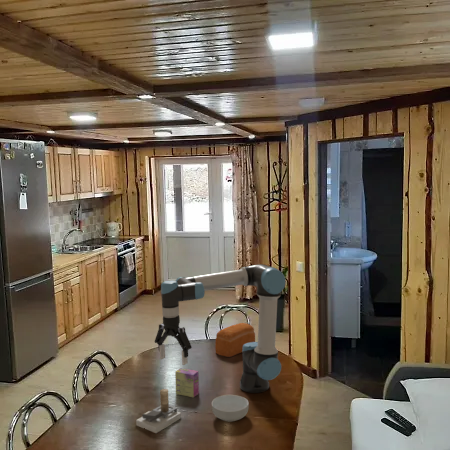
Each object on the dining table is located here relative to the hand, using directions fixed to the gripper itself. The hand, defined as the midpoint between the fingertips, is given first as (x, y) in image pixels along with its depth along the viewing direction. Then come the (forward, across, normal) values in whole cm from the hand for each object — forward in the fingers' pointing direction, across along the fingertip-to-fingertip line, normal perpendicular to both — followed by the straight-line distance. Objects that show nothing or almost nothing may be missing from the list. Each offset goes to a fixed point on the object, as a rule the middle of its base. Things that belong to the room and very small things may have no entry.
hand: (173, 361), depth 219 cm
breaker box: (+25, +2, +9) cm, 27 cm away
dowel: (+23, +2, +5) cm, 24 cm away
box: (+26, +10, -20) cm, 34 cm away
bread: (+27, +25, -85) cm, 92 cm away
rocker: (+20, +2, +13) cm, 24 cm away
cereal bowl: (+26, -22, -12) cm, 36 cm away
